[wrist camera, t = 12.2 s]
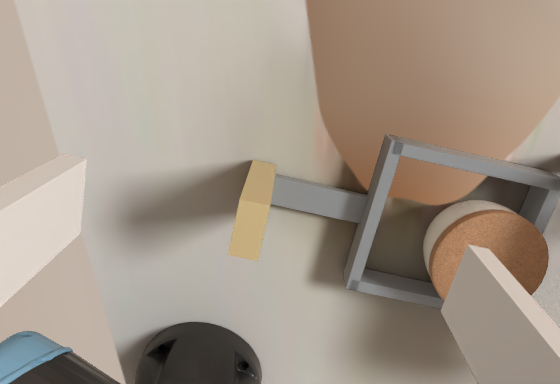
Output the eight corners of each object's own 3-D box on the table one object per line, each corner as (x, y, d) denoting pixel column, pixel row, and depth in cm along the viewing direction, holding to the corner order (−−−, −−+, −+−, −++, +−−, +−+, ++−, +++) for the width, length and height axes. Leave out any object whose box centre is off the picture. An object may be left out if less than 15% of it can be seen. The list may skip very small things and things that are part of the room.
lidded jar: (401, 202, 49) (424, 240, 40) (502, 172, 47) (550, 204, 38) (423, 286, 52) (450, 338, 43) (519, 261, 50) (567, 309, 41)
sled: (490, 305, 52) (544, 380, 41) (233, 250, 51) (216, 312, 39) (549, 171, 47) (630, 215, 35) (264, 106, 45) (253, 129, 34)
